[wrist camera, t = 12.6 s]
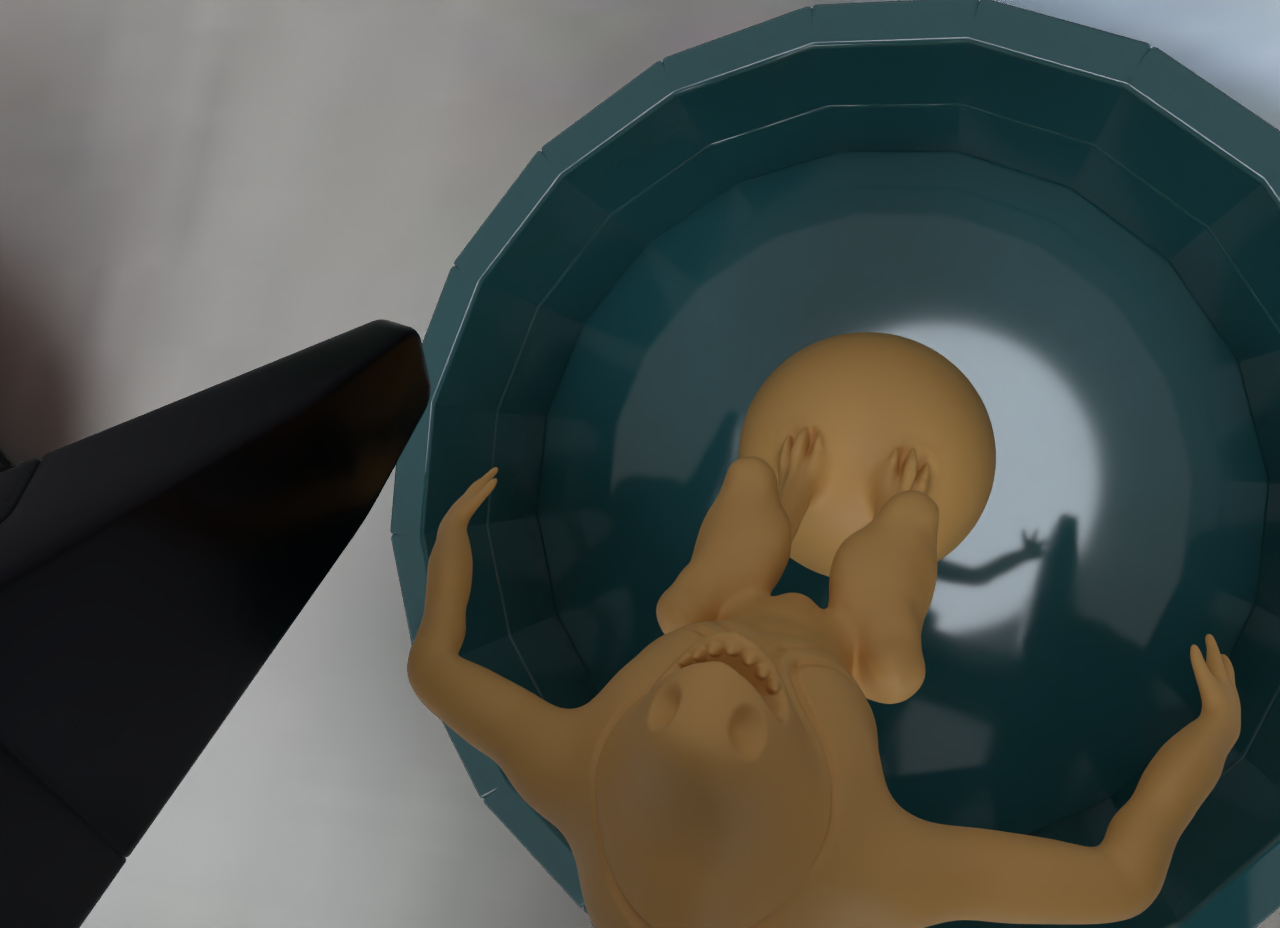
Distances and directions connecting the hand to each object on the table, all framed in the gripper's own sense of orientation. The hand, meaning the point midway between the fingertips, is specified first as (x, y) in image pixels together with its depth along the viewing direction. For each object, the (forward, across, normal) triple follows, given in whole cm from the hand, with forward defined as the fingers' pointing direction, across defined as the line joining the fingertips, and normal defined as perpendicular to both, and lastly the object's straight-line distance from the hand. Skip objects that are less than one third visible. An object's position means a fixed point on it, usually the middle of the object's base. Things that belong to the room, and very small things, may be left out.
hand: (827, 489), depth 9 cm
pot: (+6, 0, +7) cm, 9 cm away
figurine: (+6, 0, +7) cm, 9 cm away
